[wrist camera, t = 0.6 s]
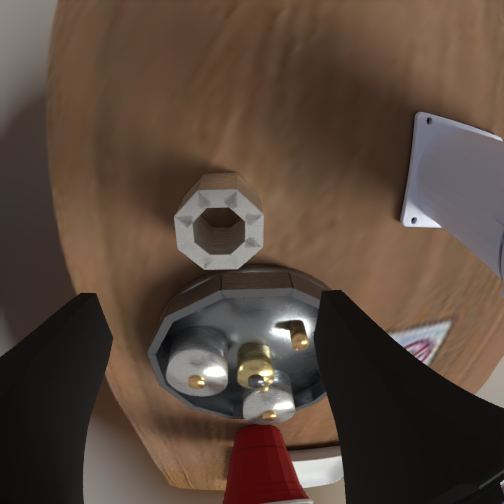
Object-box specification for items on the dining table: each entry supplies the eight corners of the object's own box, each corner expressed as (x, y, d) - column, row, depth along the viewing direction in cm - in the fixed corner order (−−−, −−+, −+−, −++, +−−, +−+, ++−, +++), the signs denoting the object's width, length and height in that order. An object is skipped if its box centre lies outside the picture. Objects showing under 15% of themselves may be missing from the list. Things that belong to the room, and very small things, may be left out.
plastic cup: (289, 446, 35) (298, 516, 25) (215, 445, 34) (215, 519, 24) (312, 414, 30) (329, 502, 20) (221, 413, 29) (221, 509, 19)
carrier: (365, 261, 20) (393, 302, 16) (327, 389, 28) (337, 426, 23) (138, 265, 19) (117, 310, 15) (176, 395, 27) (171, 433, 23)
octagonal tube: (258, 172, 16) (264, 188, 13) (257, 239, 19) (262, 268, 16) (183, 174, 16) (171, 191, 13) (189, 241, 18) (180, 269, 15)
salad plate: (233, 479, 45) (234, 493, 42) (239, 444, 35) (239, 464, 32) (332, 471, 47) (335, 484, 44) (372, 431, 37) (377, 448, 34)
